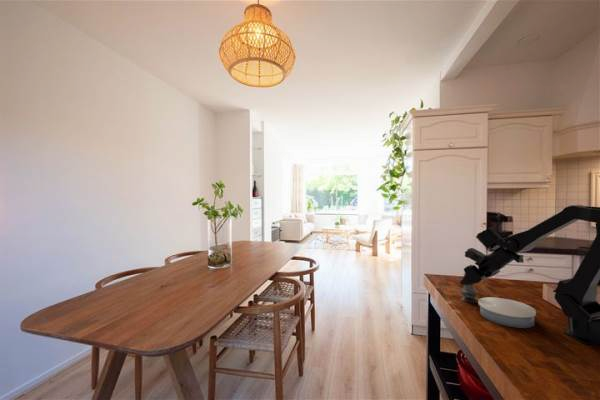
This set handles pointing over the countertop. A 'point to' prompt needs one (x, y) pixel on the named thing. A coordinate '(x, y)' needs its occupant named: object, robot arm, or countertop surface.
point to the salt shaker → (469, 293)
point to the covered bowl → (507, 312)
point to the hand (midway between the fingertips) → (466, 281)
